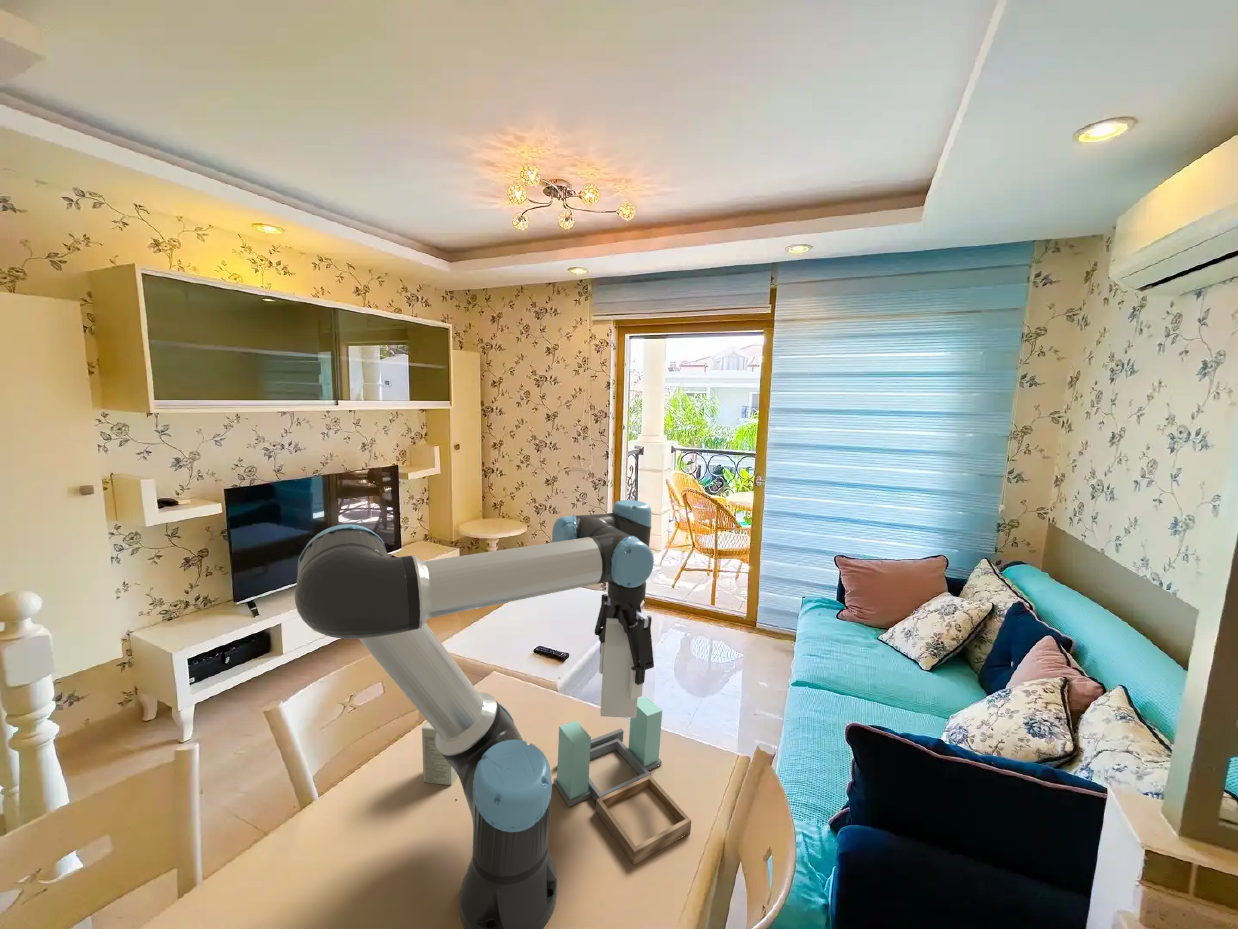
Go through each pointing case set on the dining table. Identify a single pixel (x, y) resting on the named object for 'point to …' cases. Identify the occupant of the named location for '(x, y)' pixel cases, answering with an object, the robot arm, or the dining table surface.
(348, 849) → the dining table surface
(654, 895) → the dining table surface
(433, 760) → the skincare box
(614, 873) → the dining table surface
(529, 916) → the robot arm
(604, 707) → the milk carton
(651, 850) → the tray
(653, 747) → the holder
